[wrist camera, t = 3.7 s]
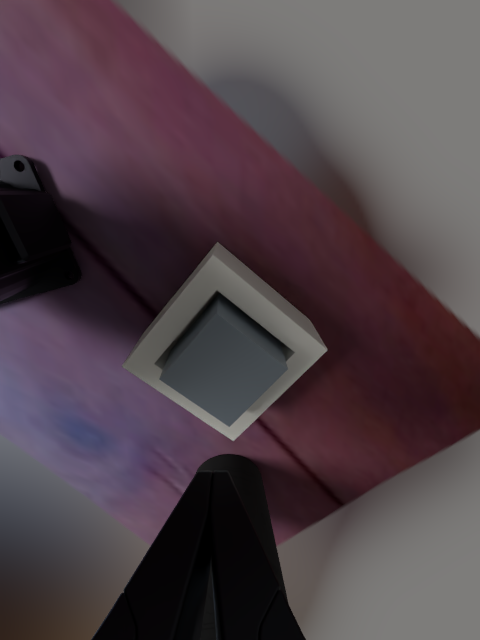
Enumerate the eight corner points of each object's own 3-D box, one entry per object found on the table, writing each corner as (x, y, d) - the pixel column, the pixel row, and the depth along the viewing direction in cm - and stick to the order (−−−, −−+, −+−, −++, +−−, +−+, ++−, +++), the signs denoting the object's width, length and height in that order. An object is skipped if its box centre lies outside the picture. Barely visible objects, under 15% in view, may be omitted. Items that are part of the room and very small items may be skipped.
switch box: (233, 397, 21) (233, 441, 18) (142, 333, 20) (121, 366, 16) (310, 320, 20) (327, 349, 16) (217, 241, 18) (212, 254, 14)
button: (230, 391, 18) (229, 427, 16) (171, 349, 17) (159, 379, 15) (279, 340, 17) (288, 368, 14) (219, 292, 16) (216, 313, 14)
